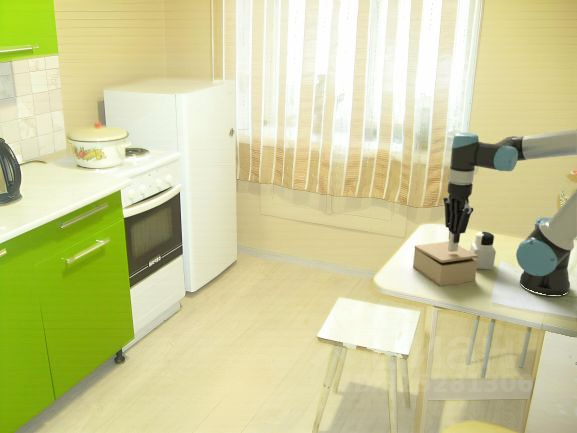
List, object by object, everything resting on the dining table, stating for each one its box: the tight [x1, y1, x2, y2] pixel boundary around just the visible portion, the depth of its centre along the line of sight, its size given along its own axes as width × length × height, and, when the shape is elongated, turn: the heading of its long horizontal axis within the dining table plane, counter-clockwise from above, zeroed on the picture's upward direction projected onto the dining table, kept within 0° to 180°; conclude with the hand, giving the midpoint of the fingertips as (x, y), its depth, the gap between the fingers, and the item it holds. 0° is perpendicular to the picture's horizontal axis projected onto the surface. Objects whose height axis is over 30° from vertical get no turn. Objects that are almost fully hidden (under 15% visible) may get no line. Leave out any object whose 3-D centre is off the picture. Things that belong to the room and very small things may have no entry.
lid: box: [414, 240, 478, 263], centre depth 206 cm, size 16×14×1 cm
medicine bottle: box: [469, 231, 497, 271], centre depth 214 cm, size 7×7×12 cm
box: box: [412, 247, 478, 287], centre depth 208 cm, size 16×14×7 cm
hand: (452, 250), depth 203 cm, fingers closed
